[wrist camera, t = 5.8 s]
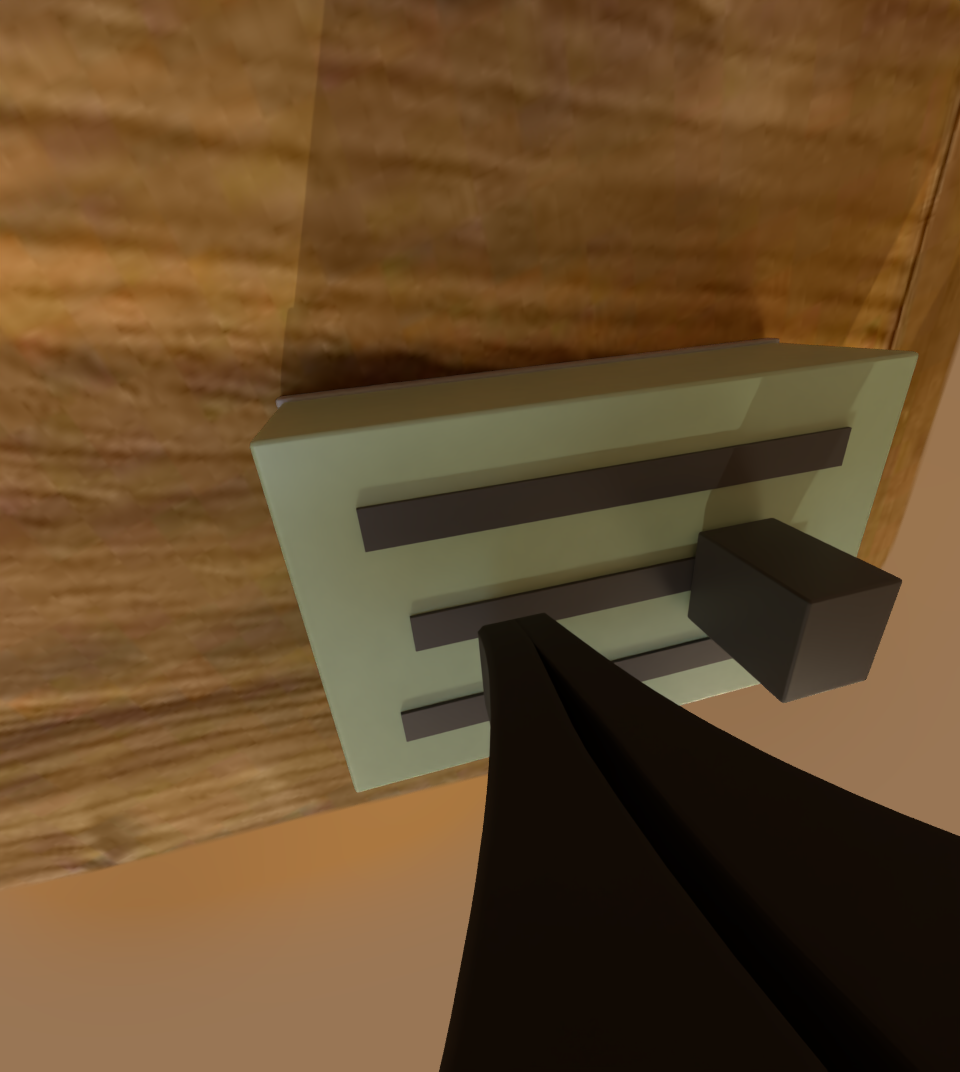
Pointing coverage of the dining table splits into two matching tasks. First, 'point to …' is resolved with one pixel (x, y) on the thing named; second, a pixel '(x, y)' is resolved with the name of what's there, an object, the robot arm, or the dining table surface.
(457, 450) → the green slab
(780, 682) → the slider
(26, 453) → the dining table surface
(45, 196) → the dining table surface
